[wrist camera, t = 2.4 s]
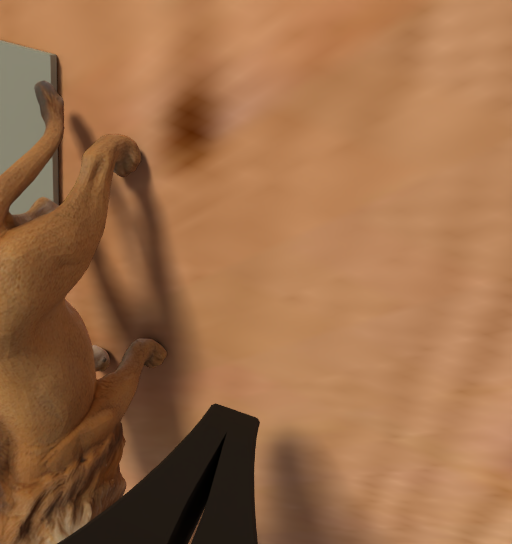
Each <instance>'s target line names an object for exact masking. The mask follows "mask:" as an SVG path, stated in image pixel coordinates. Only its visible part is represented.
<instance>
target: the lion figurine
mask: <svg viewBox="0 0 512 544" xmlns="http://www.w3.org/2000/svg"><path fill="white" fill-rule="evenodd" d="M34 90H35V94H36V98H37V100H38V103H39V105H40V112H41V116H42V118H43V120H44V122H45V126H46V129H45V132H44V135H43V136H42V137H41V139H40V140H39V141H38V142H37V143H36V144H35V145H34V146H33V147H32V148H31V149H30V150H29V151H28V152H27V153H25V154H24V155H23V156H22V157H21V158H20V159H18V160H17V161H16V162H15V163H14V164H13V165H12V166H10V167H9V168H8V169H7V170H6V171H5V172H4V173H3V174H1V175H0V544H57V543H59V542H60V541H62V540H64V539H65V538H67V537H68V536H70V535H71V534H73V533H74V532H76V531H77V530H78V529H80V528H81V527H83V526H84V525H86V524H87V523H88V522H90V521H91V520H92V519H94V518H95V517H96V516H98V515H99V514H101V513H102V512H103V511H105V510H106V509H107V508H109V507H110V506H111V505H112V504H114V503H115V502H116V501H117V500H119V499H120V498H121V497H122V496H123V494H124V491H125V489H126V481H125V479H124V478H123V477H122V475H121V473H120V467H119V462H120V460H121V457H122V453H123V447H124V445H125V442H126V441H125V438H124V436H123V428H122V424H121V422H120V421H121V419H122V417H123V415H124V414H125V412H126V410H127V408H128V406H129V404H130V402H131V400H132V398H133V396H134V394H135V391H136V389H137V386H138V382H139V377H140V374H141V371H142V368H143V366H144V365H146V366H147V367H149V368H154V367H156V366H158V365H161V364H162V363H163V361H164V358H165V357H166V355H167V352H166V350H165V349H164V348H163V347H162V346H161V345H160V344H159V343H157V342H156V341H154V340H152V339H141V338H140V339H137V340H135V341H134V342H133V343H132V344H131V345H130V346H129V348H128V349H127V351H126V352H125V354H124V356H123V359H122V362H121V363H120V365H119V366H118V368H117V370H116V371H114V372H113V373H109V374H107V375H105V376H104V377H102V378H101V379H99V380H97V379H96V373H95V371H104V370H106V369H107V367H108V366H109V363H110V359H109V355H108V353H107V352H106V351H105V350H104V349H102V348H101V347H99V346H97V345H92V343H91V340H90V337H89V334H88V331H87V329H86V326H85V324H84V322H83V320H82V318H81V317H80V315H79V313H78V312H77V311H76V310H75V309H74V308H73V307H72V306H71V305H70V304H69V303H68V302H67V301H66V299H65V296H66V295H67V293H68V292H69V291H70V290H71V289H72V288H73V287H74V286H75V285H76V283H77V282H78V281H79V280H80V278H81V277H82V276H83V274H84V273H85V271H86V270H87V268H88V266H89V264H90V262H91V260H92V257H93V255H94V253H95V251H96V249H97V246H98V244H99V242H100V239H101V237H102V235H103V231H104V228H105V223H106V218H107V210H108V202H109V196H110V185H111V181H112V175H113V172H115V173H116V174H117V175H119V176H121V177H125V176H127V175H128V174H129V173H131V172H134V171H135V170H136V168H137V166H138V165H139V163H140V161H141V154H140V151H139V148H138V146H137V144H136V143H135V142H134V141H133V140H132V139H131V138H129V137H127V136H124V135H120V134H108V135H104V136H102V137H100V138H99V139H98V140H97V141H96V142H94V144H93V145H92V146H91V147H90V148H88V149H87V150H86V151H85V153H84V154H83V156H82V164H81V170H80V174H79V177H78V179H77V181H76V183H75V185H74V187H73V189H72V190H71V192H70V193H69V195H68V196H67V198H66V199H65V200H64V202H63V203H62V204H61V205H60V206H59V205H57V204H56V203H54V202H52V201H51V200H50V199H48V198H46V197H41V198H39V199H37V200H36V201H35V203H34V204H33V205H32V206H31V208H30V209H29V211H27V212H26V213H23V214H17V215H11V213H10V212H9V208H10V206H11V204H12V203H13V202H14V201H15V200H16V199H17V198H18V197H19V196H20V195H21V194H22V193H23V191H24V190H25V189H26V188H27V187H28V186H29V185H30V184H31V183H32V182H33V181H34V180H35V178H36V177H37V176H38V175H39V173H40V172H41V171H42V169H43V168H44V167H45V165H46V164H47V163H48V161H49V160H50V159H51V158H52V156H53V154H54V153H55V151H56V149H57V148H58V146H59V144H60V142H61V140H62V138H63V132H64V102H63V98H62V97H61V96H60V95H58V93H57V91H56V89H55V88H54V86H53V85H52V84H50V83H49V82H47V81H45V80H43V81H39V82H37V83H36V84H35V86H34Z"/></svg>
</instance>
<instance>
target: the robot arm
mask: <svg viewBox="0 0 512 544" xmlns="http://www.w3.org/2000/svg"><path fill="white" fill-rule="evenodd" d="M259 424H260V422H259V420H258V419H257V418H256V417H253V416H250V415H247V414H244V413H241V412H238V411H236V410H233V409H230V408H227V407H224V406H221V405H218V404H213V405H211V407H210V408H209V410H208V411H207V412H206V414H205V415H204V416H203V418H202V419H201V420H200V421H199V423H198V424H197V425H196V426H195V427H194V429H193V430H192V431H191V432H190V433H189V434H188V435H187V436H186V438H185V439H184V440H183V441H182V442H181V443H180V444H179V445H178V446H177V447H176V448H175V449H174V450H173V451H172V452H171V453H170V454H169V455H168V456H167V457H166V458H165V459H164V460H163V461H162V462H161V463H160V464H159V465H158V466H157V467H156V468H154V469H153V470H152V471H151V472H150V473H149V474H148V475H147V476H146V477H145V478H144V479H143V480H141V481H140V482H139V483H138V484H137V485H136V486H134V487H133V488H132V489H131V490H130V491H129V492H127V493H126V494H125V495H124V496H122V497H121V498H120V499H119V500H117V501H116V502H115V503H114V504H112V505H111V506H110V507H109V508H107V509H106V510H105V511H103V512H102V513H101V514H99V515H98V516H96V517H95V518H94V519H92V520H91V521H90V522H88V523H87V524H86V525H84V526H83V527H81V528H80V529H78V530H77V531H76V532H74V533H73V534H71V535H70V536H68V537H67V538H65V539H64V540H62V541H60V542H59V543H57V544H188V542H189V540H190V538H191V536H192V534H193V532H194V530H195V528H196V525H197V523H198V521H199V519H200V517H201V515H202V513H203V510H204V508H205V510H204V513H203V516H202V518H201V521H200V523H199V526H198V528H197V531H196V533H195V536H194V538H193V541H192V543H191V544H258V542H257V531H256V518H255V500H254V461H255V447H256V438H257V432H258V427H259ZM205 506H206V507H205Z"/></svg>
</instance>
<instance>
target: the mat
mask: <svg viewBox="0 0 512 544" xmlns="http://www.w3.org/2000/svg"><path fill="white" fill-rule="evenodd" d="M43 80H45V81H47V82H49V83H50V84H52V85H53V86H54V88H55V89H56V91H57V55H55V54H52V53H48V52H44V51H40V50H36V49H32V48H29V47H25V46H21V45H17V44H13V43H9V42H6V41H2V40H0V175H1V174H3V173H4V172H5V171H6V170H7V169H8V168H9V167H10V166H12V165H13V164H14V163H15V162H16V161H17V160H18V159H20V158H21V157H22V156H23V155H24V154H25V153H27V152H28V151H29V150H30V149H31V148H32V147H33V146H34V145H35V144H36V143H37V142H38V141H39V140H40V139H41V137H42V136H43V135H44V132H45V129H46V126H45V122H44V120H43V118H42V116H41V112H40V105H39V103H38V100H37V98H36V94H35V90H34V86H35V84H36V83H37V82H39V81H43ZM41 197H46V198H48V199H50V200H51V201H52V202H54V203H56V204H57V205H59V191H58V148H57V149H56V151H55V153H54V154H53V156H52V158H51V159H50V160H49V161H48V163H47V164H46V165H45V167H44V168H43V169H42V171H41V172H40V173H39V175H38V176H37V177H36V178H35V180H34V181H33V182H32V183H31V184H30V185H29V186H28V187H27V188H26V189H25V190H24V191H23V193H22V194H21V195H20V196H19V197H18V198H17V199H16V200H15V201H14V202H13V203H12V204H11V206H10V208H9V212H10V213H11V215H17V214H23V213H26V212H27V211H29V209H30V208H31V206H32V205H33V204H34V203H35V201H36V200H37V199H39V198H41Z"/></svg>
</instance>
